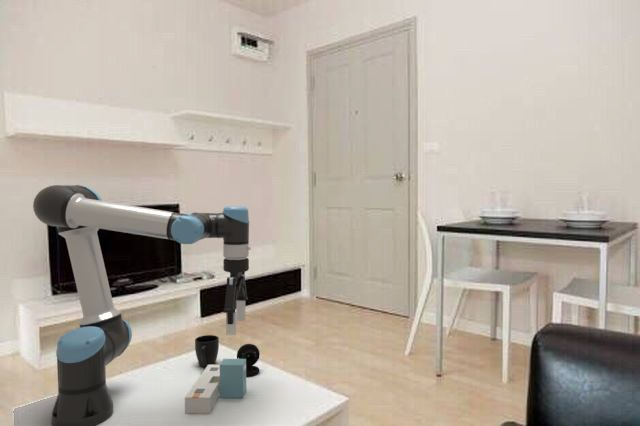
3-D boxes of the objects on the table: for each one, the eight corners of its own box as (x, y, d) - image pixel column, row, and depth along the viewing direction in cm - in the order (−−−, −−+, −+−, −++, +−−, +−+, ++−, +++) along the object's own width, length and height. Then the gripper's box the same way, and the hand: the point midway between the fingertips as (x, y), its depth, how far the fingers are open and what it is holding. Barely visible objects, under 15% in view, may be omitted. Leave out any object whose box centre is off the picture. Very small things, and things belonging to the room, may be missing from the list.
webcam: (238, 378, 150) (238, 348, 149) (235, 370, 157) (235, 341, 157) (261, 375, 152) (261, 346, 152) (257, 367, 159) (257, 339, 159)
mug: (190, 373, 154) (189, 346, 154) (198, 360, 166) (198, 335, 166) (214, 373, 154) (213, 345, 154) (221, 360, 166) (220, 334, 166)
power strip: (184, 413, 126) (184, 396, 126) (214, 368, 159) (214, 355, 158) (209, 413, 126) (209, 397, 126) (234, 368, 158) (234, 355, 158)
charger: (209, 397, 136) (208, 364, 135) (213, 390, 141) (213, 358, 140) (243, 397, 136) (243, 365, 135) (246, 390, 141) (246, 358, 140)
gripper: (239, 264, 123) (239, 341, 124) (255, 252, 148) (255, 316, 149) (212, 264, 124) (212, 340, 125) (233, 252, 149) (233, 315, 150)
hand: (236, 327), depth 137 cm, fingers open, 13 cm apart
